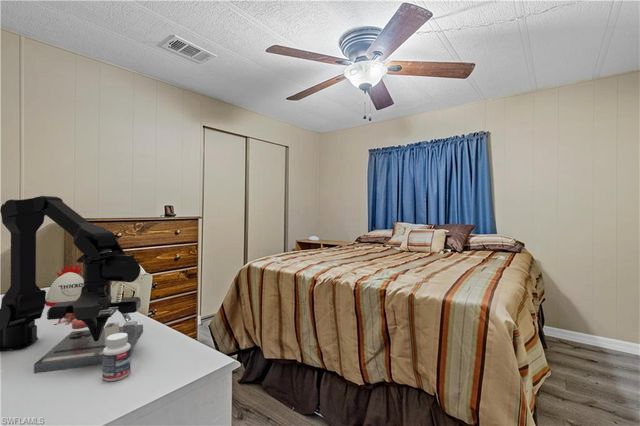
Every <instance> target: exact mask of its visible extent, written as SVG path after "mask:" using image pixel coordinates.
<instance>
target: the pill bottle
mask: <svg viewBox="0 0 640 426" xmlns="http://www.w3.org/2000/svg"><path fill="white" fill-rule="evenodd" d="M127 340H128V334H127V333H116V334H112V335H110V336H108V337H107V340H106V343H107V345H108V346H106V347H105V348H104V350H103V364H101V365H102V367H101V368H102V373H101V375H102V376H101V377H102V380H103V381H105V382H113V381H114V382H115V381H119V380H122V379H124V378H126V377H127V376H129V374H130V373H131V361H132V359H131V358H132V357H131V353H132V350H131V346H130V344H129V343H127Z"/></svg>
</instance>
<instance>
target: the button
mask: <svg viewBox="0 0 640 426" xmlns="http://www.w3.org/2000/svg"><path fill="white" fill-rule="evenodd" d="M71 328H72V329H73V330H80V329H82V330H83V329H85V328H88V327H87V325H86V324H85V323H84V322H83V321H81V320H77V319H76V318H73V319H72V320H71Z"/></svg>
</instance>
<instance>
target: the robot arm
mask: <svg viewBox="0 0 640 426" xmlns="http://www.w3.org/2000/svg"><path fill="white" fill-rule="evenodd" d="M0 215H1V222H2V225H3V226H4V227H5V228H6V229H7V230H8V231H9V232H10V233H9V234H10V287H9V288H8V289H7V291H6V292H5V294H4V295H3V296H2V298H1V303H0V352H3V351H4V352H5V351H12V350H22V349H26V348H29V346H31V345H32V344H33V343H35V342H36V341H38V339H39V337H38V325H37V324H36V322H35V321H36V320H39V319H41V318H42V316H43V313H44V310H45V307H46V306H45V305H46V304H47V303H46V297H47V291H46V290H45V289H41V288H40V287H39V285H38V284H37V232H38V231H39V230H40V228H41V226H42V225H43V224H44V222H45V216H46V217H48V218H49V219H50V220H52V222H54V223H55V224H57V225H58V226H59V227H60V228H61V229H63V230H64V231H65V232H67V233H68V234H69V235H70V236H71V237H72V241H73V242H72V243H73V245H74V246H75V247H76V249H78V250H79V251H80V253H82V255H81V256H80V257H78V259H76V262H77V263H78V264H79V263H82V264H83V279H84V284H83V287H82V290H81V295H80V297H79V298H78V299H77V301H69V302H59V303H57V304H55V305H54V306H50V307H49V308H48V310H47V312H46V320H49V321H51V320H59V319H61V320H63V319H64V318H63V317H65V316H66V315H67V313H74V319H77V320H81V321H83V322H84V323H85V324H86V325H87V327H86V328H88V330H90V333H91V335H92V337H93V339H94V341H98V340H99V338H100V336H101V333H102V331H103V329H104V328H105V327H106V325H107V322H108V319H109V318H112V316H113V315H114V314H115V313H116V312H117V311H118V312H119V313H120V314H121V315H122V314H124V313H128V314H134V313H136V312H137V311H138V310H139V309H140V308H141V306H142V302H141V301H142V300H141V298H140V297H139V296H132V297H131V296H129V297H123V298H122V299H120V301H114V302H113V301H112V300H113V299H112V297H113V296H112V285H113V282H117V283H119V282H120V283H133V282H135V281H136V280H137V279H138V278H139V276H140V275H141V274H140V273H141V266H140V263H139V261H137V259H135V255H134V254H126V253H125V251H124V249H123V248H122V247H121V244H120V243H119V241H118V240H117V236H116V235H115V233H114V232H113V231H111V230H109V229H107V228H105V227H103V226H100V225H96V224H93V223H92V222H89V221H88V220H86V219H85V217H83V216H81V215H80V214H79V213H78V212H76V211H75V210H73V209H72V208H71V207H70V206H69V205H67V204H66V203H65V202H64V200H63V199H62V198H60V197H58V196H50V195H49V196H48V195H39V196H35V197H33V198H25V199H7V200H6V201H5V203H2V204H1V206H0ZM137 313H138V312H137Z"/></svg>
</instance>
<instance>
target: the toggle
mask: <svg viewBox="0 0 640 426" xmlns="http://www.w3.org/2000/svg"><path fill="white" fill-rule="evenodd" d="M121 315H122V317H123V319H124V321H125V323H126V322H130V321H132V318H131V316H130V313H124V314H121Z"/></svg>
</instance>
